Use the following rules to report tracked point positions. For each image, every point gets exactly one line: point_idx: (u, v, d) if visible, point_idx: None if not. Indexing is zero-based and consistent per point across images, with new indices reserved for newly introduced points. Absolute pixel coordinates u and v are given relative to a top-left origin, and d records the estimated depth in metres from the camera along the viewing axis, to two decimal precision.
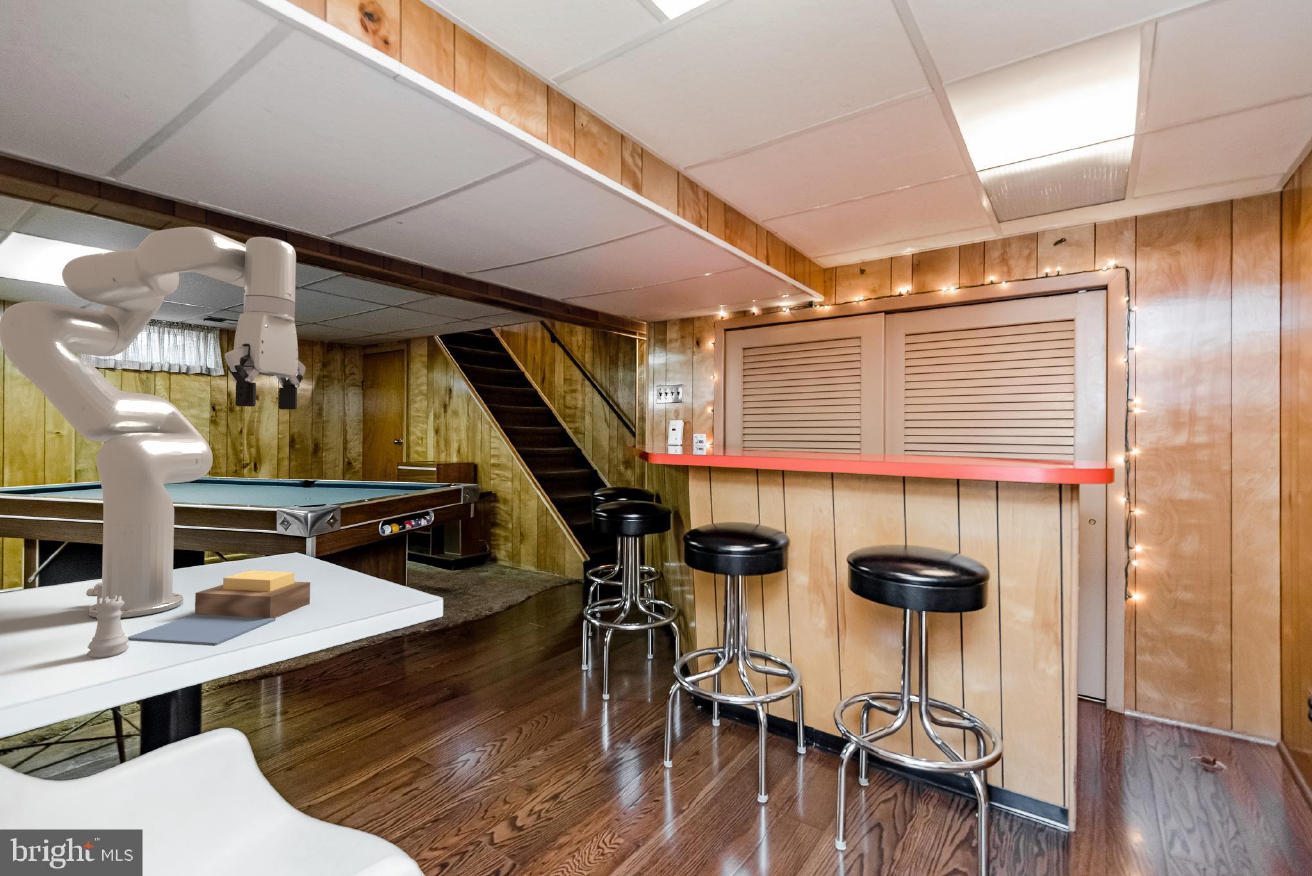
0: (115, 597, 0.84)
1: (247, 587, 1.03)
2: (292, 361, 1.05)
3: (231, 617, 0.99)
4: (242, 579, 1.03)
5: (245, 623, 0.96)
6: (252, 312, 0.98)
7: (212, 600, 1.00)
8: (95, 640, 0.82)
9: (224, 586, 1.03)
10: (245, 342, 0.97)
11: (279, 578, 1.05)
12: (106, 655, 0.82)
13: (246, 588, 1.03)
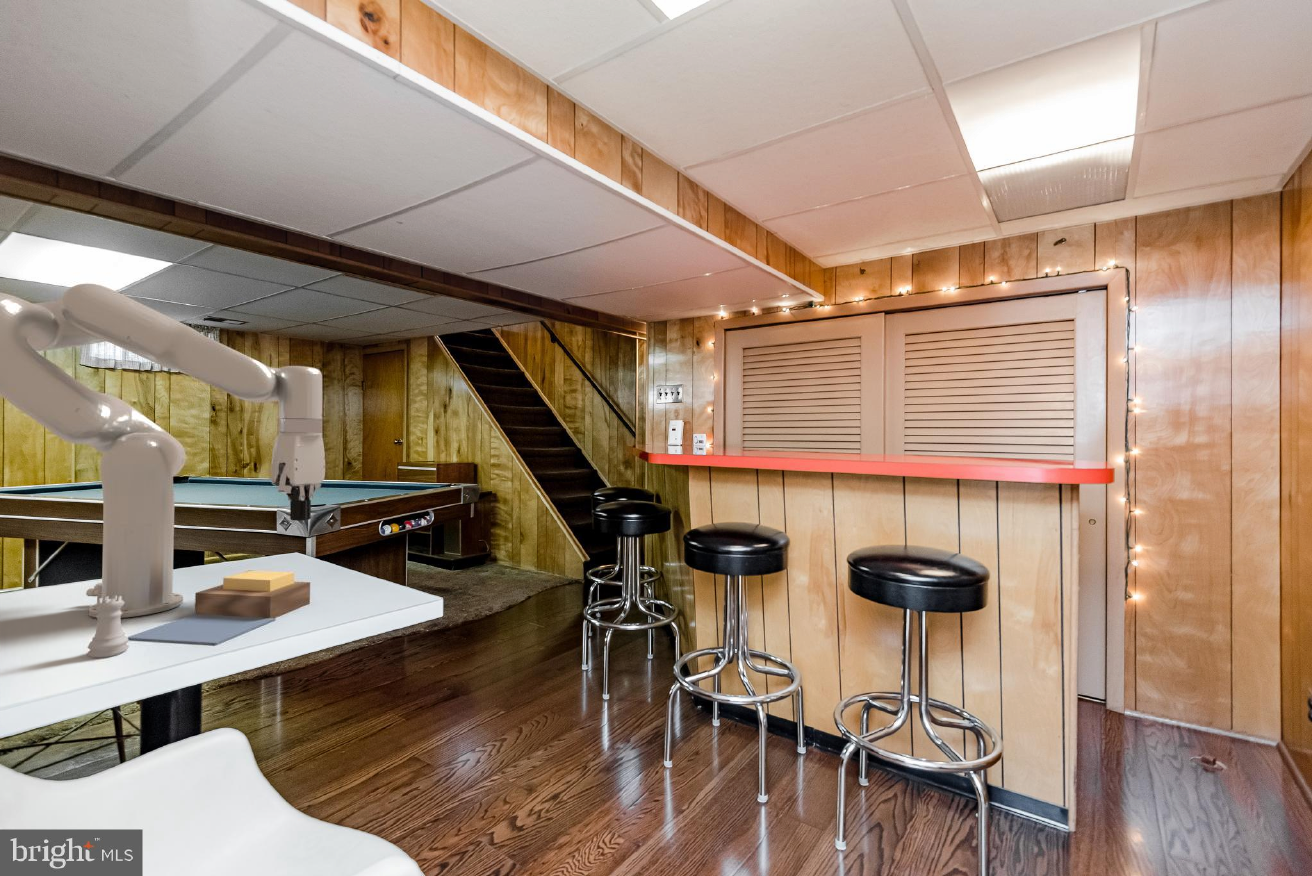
0: (115, 597, 0.84)
1: (247, 587, 1.03)
2: (320, 470, 1.19)
3: (231, 617, 0.99)
4: (242, 579, 1.03)
5: (245, 623, 0.96)
6: (286, 433, 1.12)
7: (212, 600, 1.00)
8: (95, 640, 0.82)
9: (224, 586, 1.03)
10: (281, 461, 1.11)
11: (279, 578, 1.05)
12: (106, 655, 0.82)
13: (246, 588, 1.03)
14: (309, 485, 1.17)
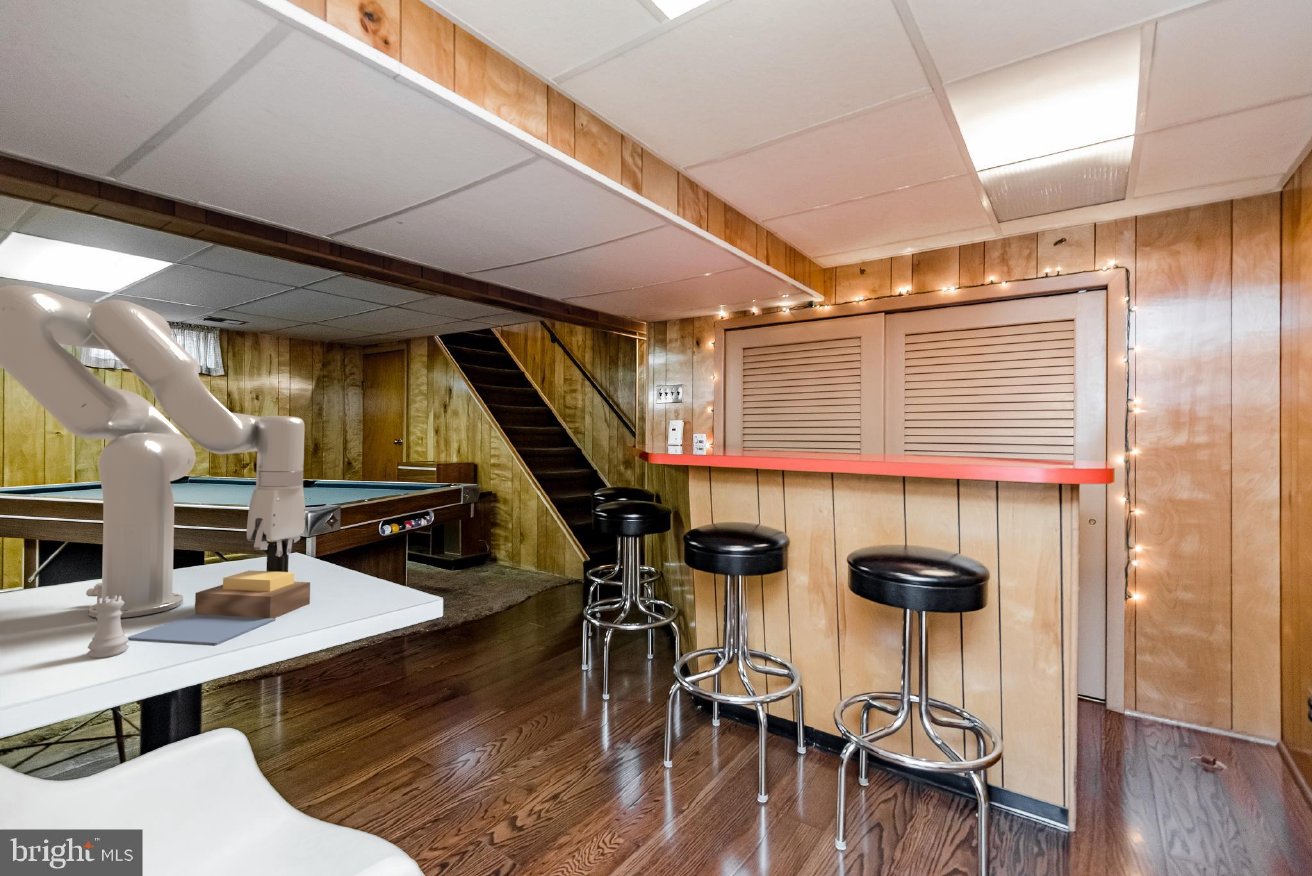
0: (115, 597, 0.84)
1: (247, 587, 1.03)
2: (300, 522, 1.13)
3: (231, 617, 0.99)
4: (242, 579, 1.03)
5: (245, 623, 0.96)
6: (264, 487, 1.07)
7: (212, 600, 1.00)
8: (95, 640, 0.82)
9: (224, 586, 1.03)
10: (258, 516, 1.06)
11: (279, 578, 1.05)
12: (106, 655, 0.82)
13: (246, 588, 1.03)
14: (287, 539, 1.12)
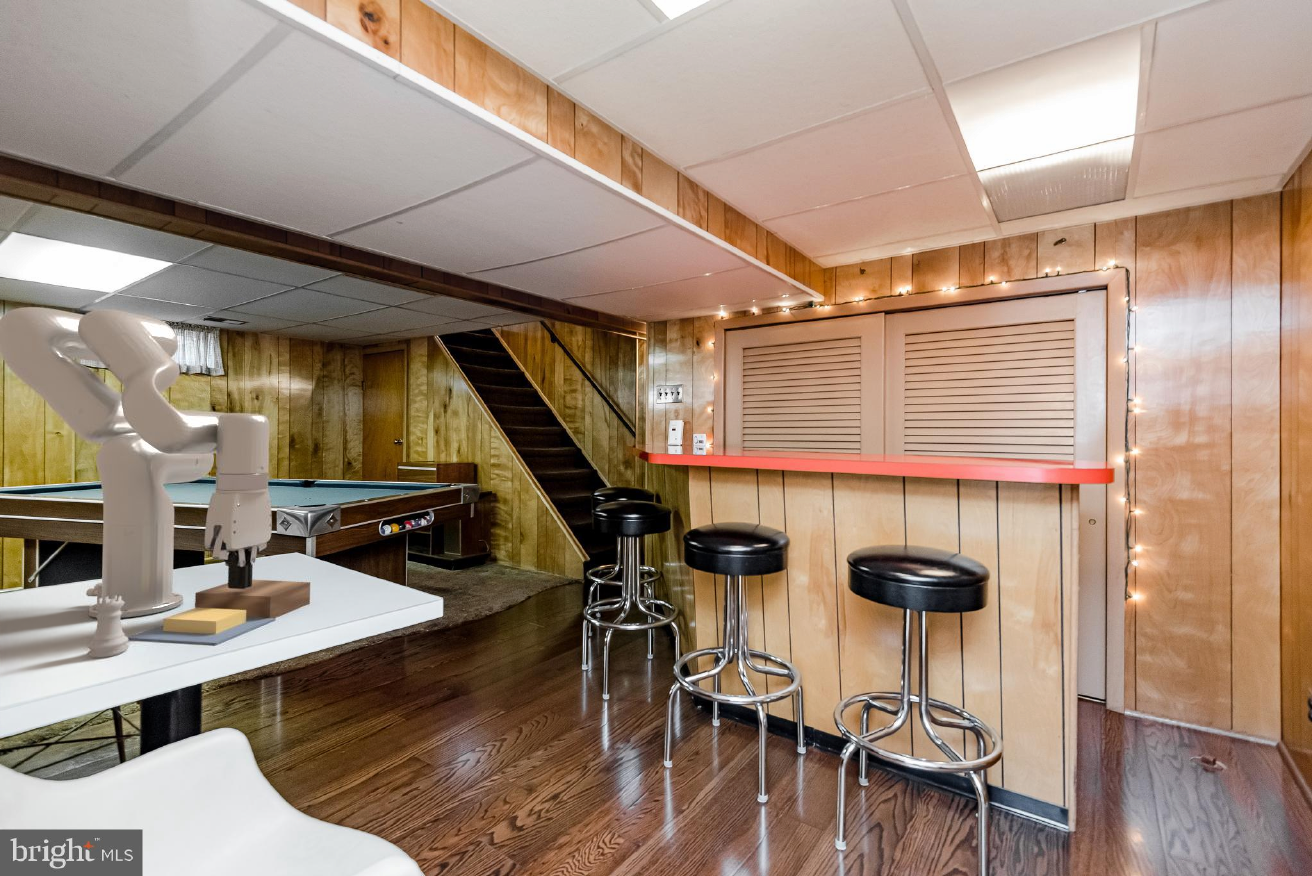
0: (115, 597, 0.84)
1: None
2: (265, 529, 1.04)
3: None
4: None
5: (245, 623, 0.96)
6: (224, 491, 0.98)
7: (212, 600, 1.00)
8: (95, 640, 0.82)
9: None
10: (216, 523, 0.97)
11: (235, 624, 0.95)
12: (106, 655, 0.82)
13: None
14: (251, 548, 1.03)
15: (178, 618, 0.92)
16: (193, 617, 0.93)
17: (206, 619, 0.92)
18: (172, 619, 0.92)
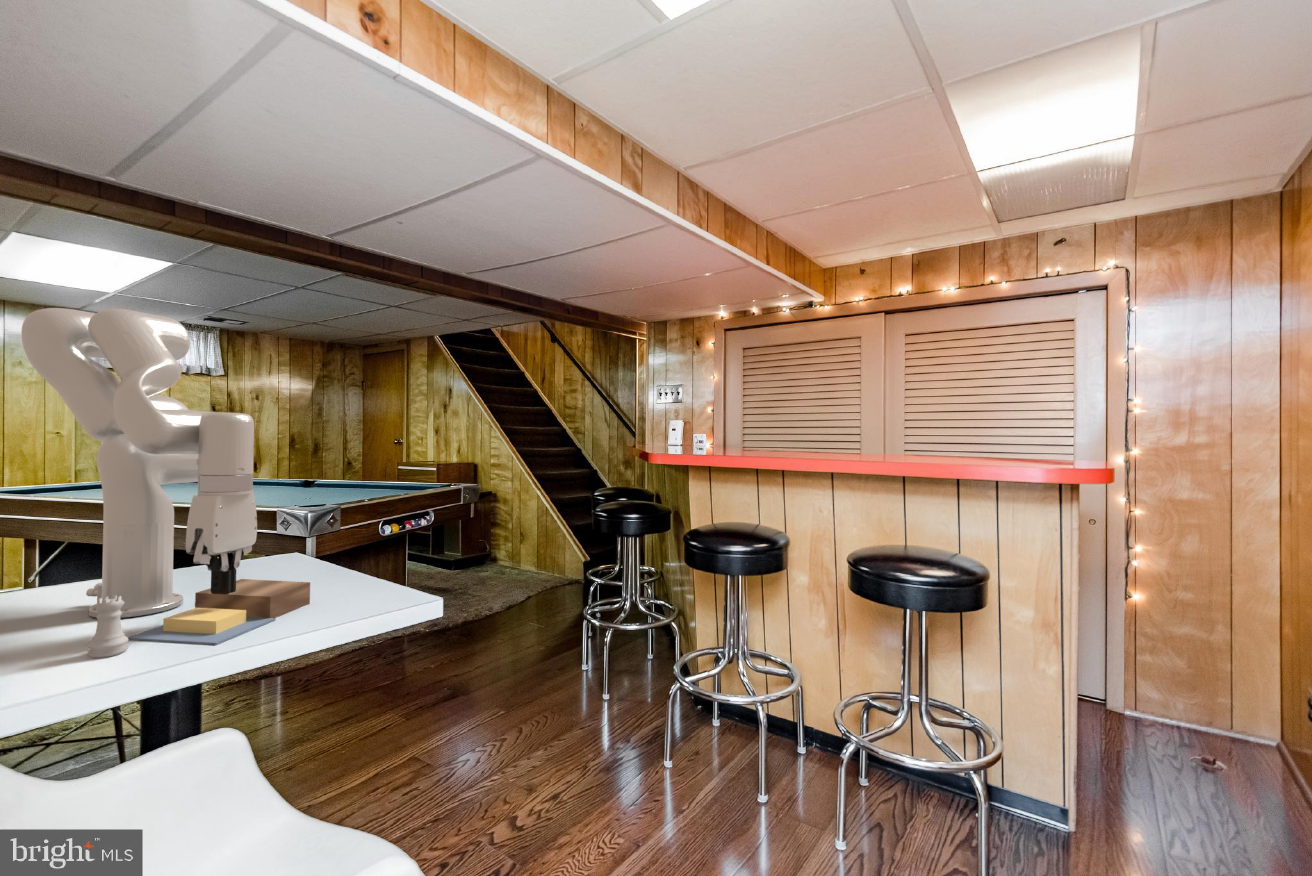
0: (115, 597, 0.84)
1: None
2: (250, 532, 1.01)
3: None
4: None
5: (245, 623, 0.96)
6: (206, 493, 0.94)
7: (212, 600, 1.00)
8: (95, 640, 0.82)
9: None
10: (198, 526, 0.93)
11: (235, 624, 0.95)
12: (106, 655, 0.82)
13: None
14: (235, 551, 0.99)
15: (178, 618, 0.92)
16: (193, 617, 0.93)
17: (206, 619, 0.92)
18: (172, 619, 0.92)
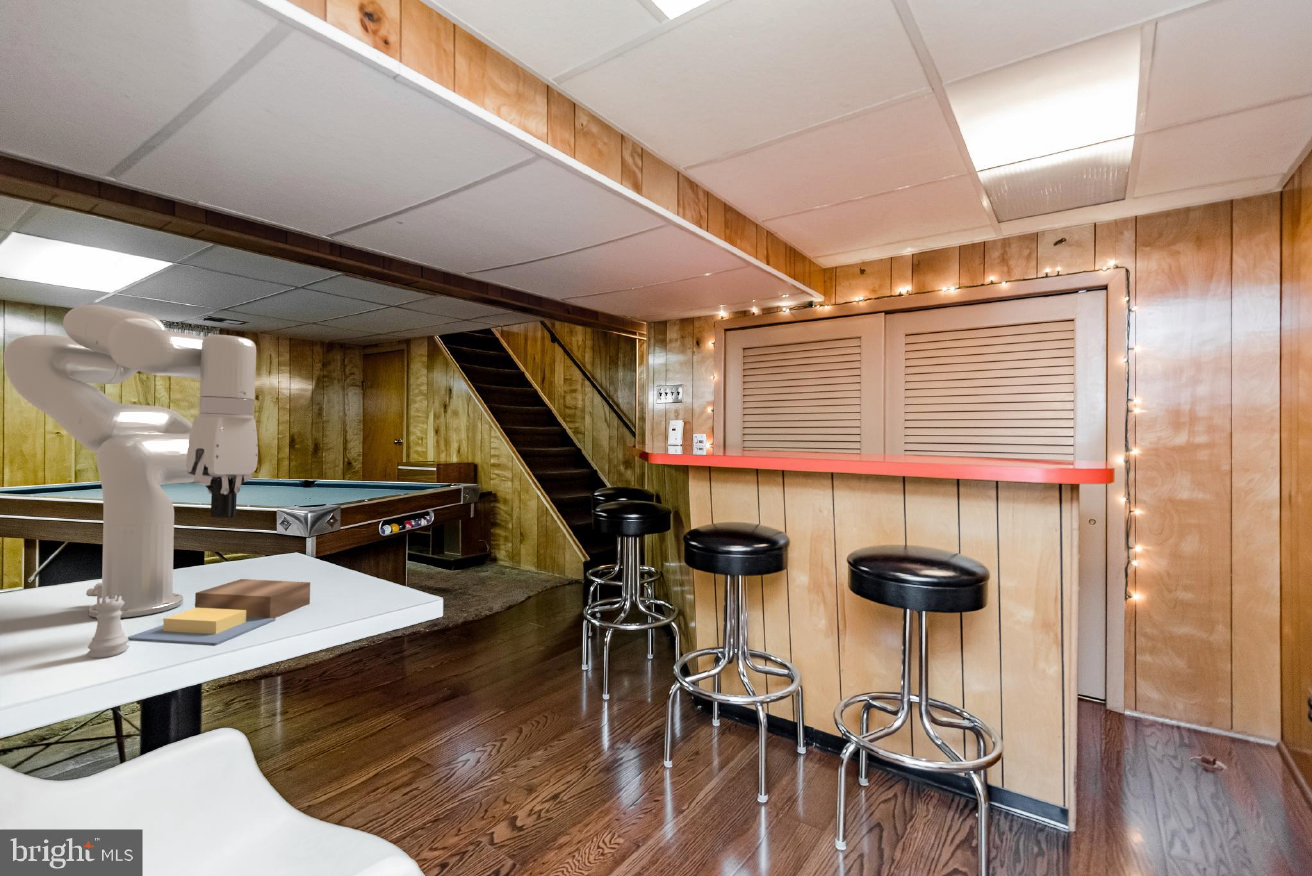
0: (115, 597, 0.84)
1: None
2: (251, 458, 1.01)
3: None
4: None
5: (245, 623, 0.96)
6: (207, 414, 0.94)
7: (212, 600, 1.00)
8: (95, 640, 0.82)
9: None
10: (198, 446, 0.93)
11: (235, 624, 0.95)
12: (106, 655, 0.82)
13: None
14: (235, 476, 0.99)
15: (178, 618, 0.92)
16: (193, 617, 0.93)
17: (206, 619, 0.92)
18: (172, 619, 0.92)
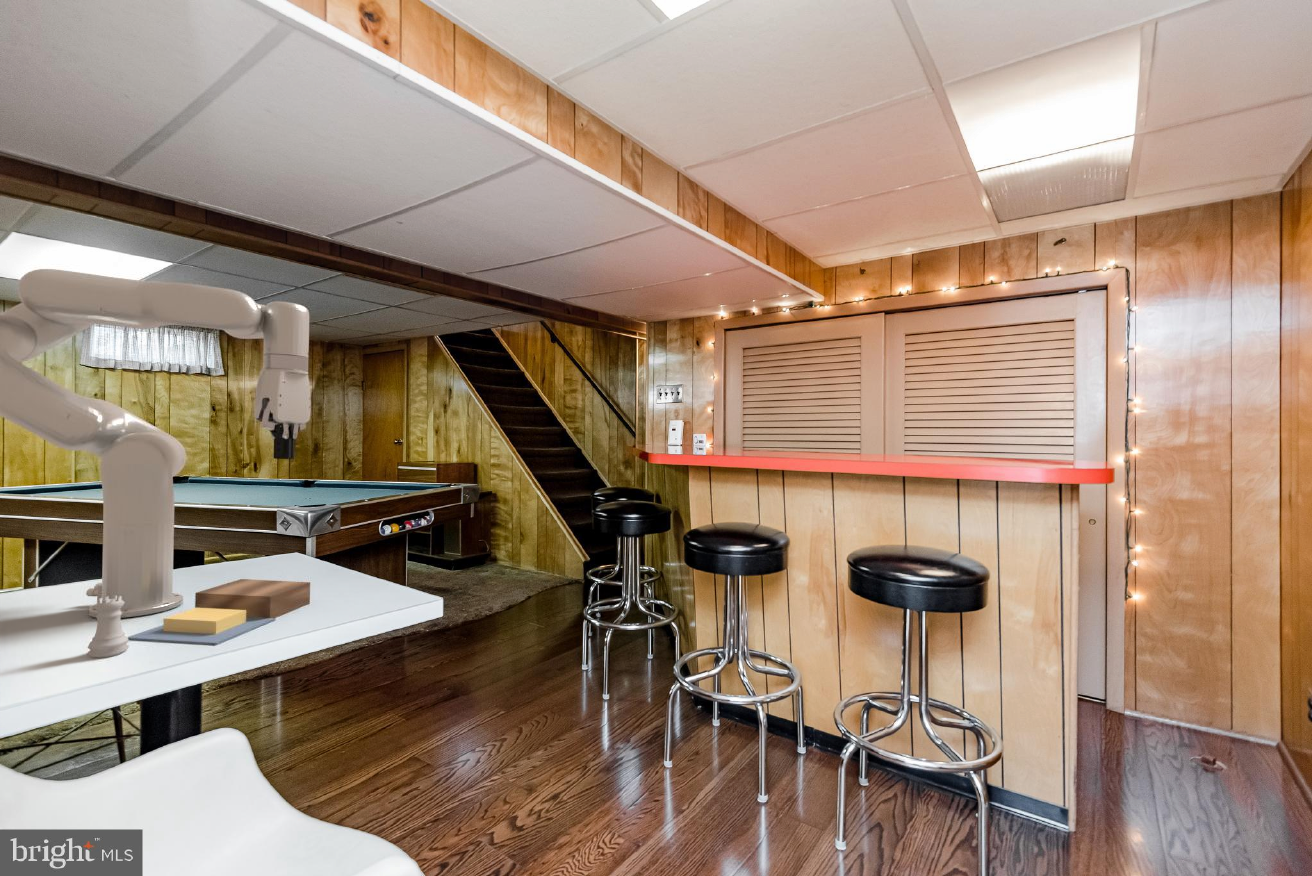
0: (115, 597, 0.84)
1: None
2: (306, 410, 1.17)
3: None
4: None
5: (245, 623, 0.96)
6: (271, 369, 1.11)
7: (212, 600, 1.00)
8: (95, 640, 0.82)
9: None
10: (265, 396, 1.09)
11: (235, 624, 0.95)
12: (106, 655, 0.82)
13: None
14: (293, 424, 1.15)
15: (178, 618, 0.92)
16: (193, 617, 0.93)
17: (206, 619, 0.92)
18: (172, 619, 0.92)
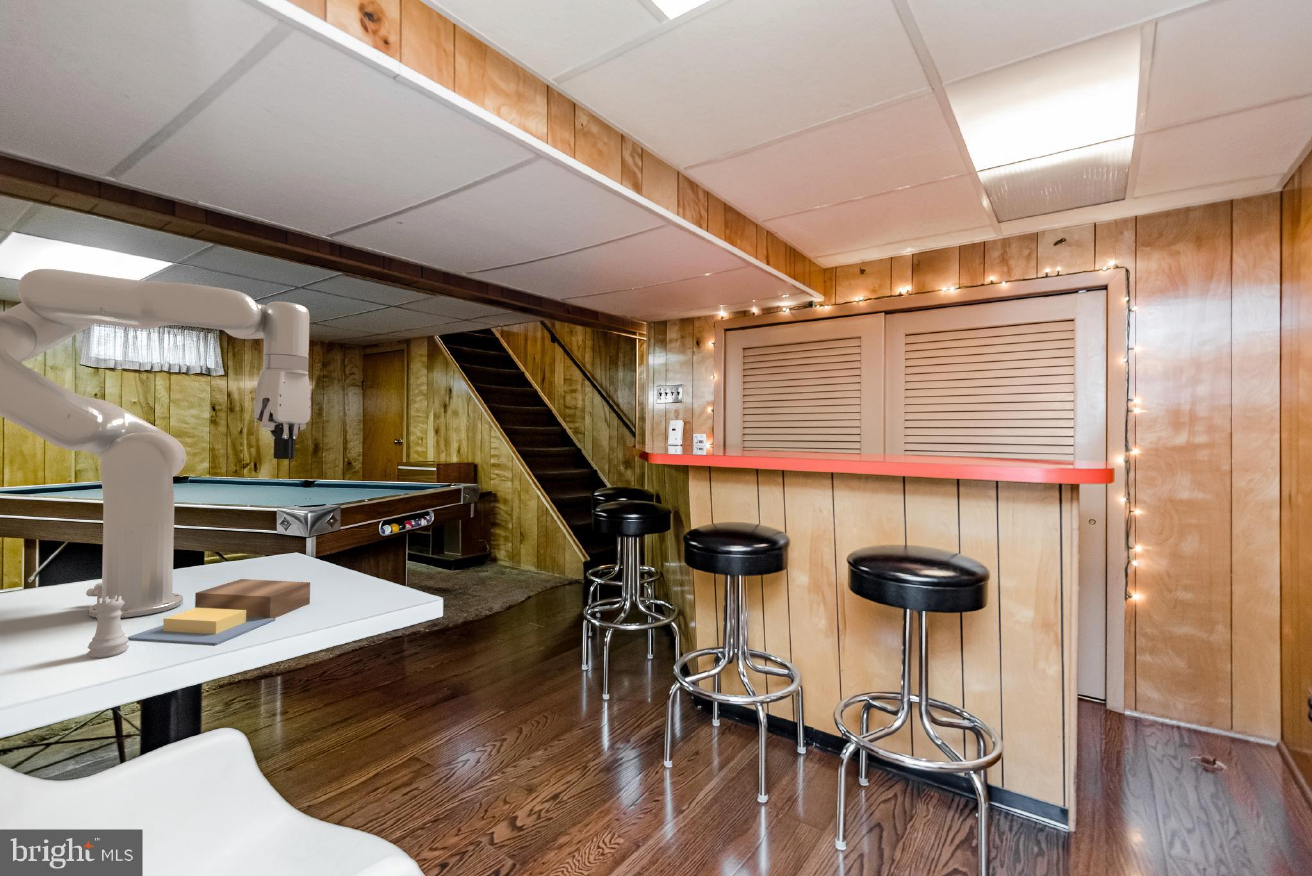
0: (115, 597, 0.84)
1: None
2: (306, 410, 1.17)
3: None
4: None
5: (245, 623, 0.96)
6: (271, 369, 1.11)
7: (212, 600, 1.00)
8: (95, 640, 0.82)
9: None
10: (265, 396, 1.09)
11: (235, 624, 0.95)
12: (106, 655, 0.82)
13: None
14: (293, 424, 1.15)
15: (178, 618, 0.92)
16: (193, 617, 0.93)
17: (206, 619, 0.92)
18: (172, 619, 0.92)
